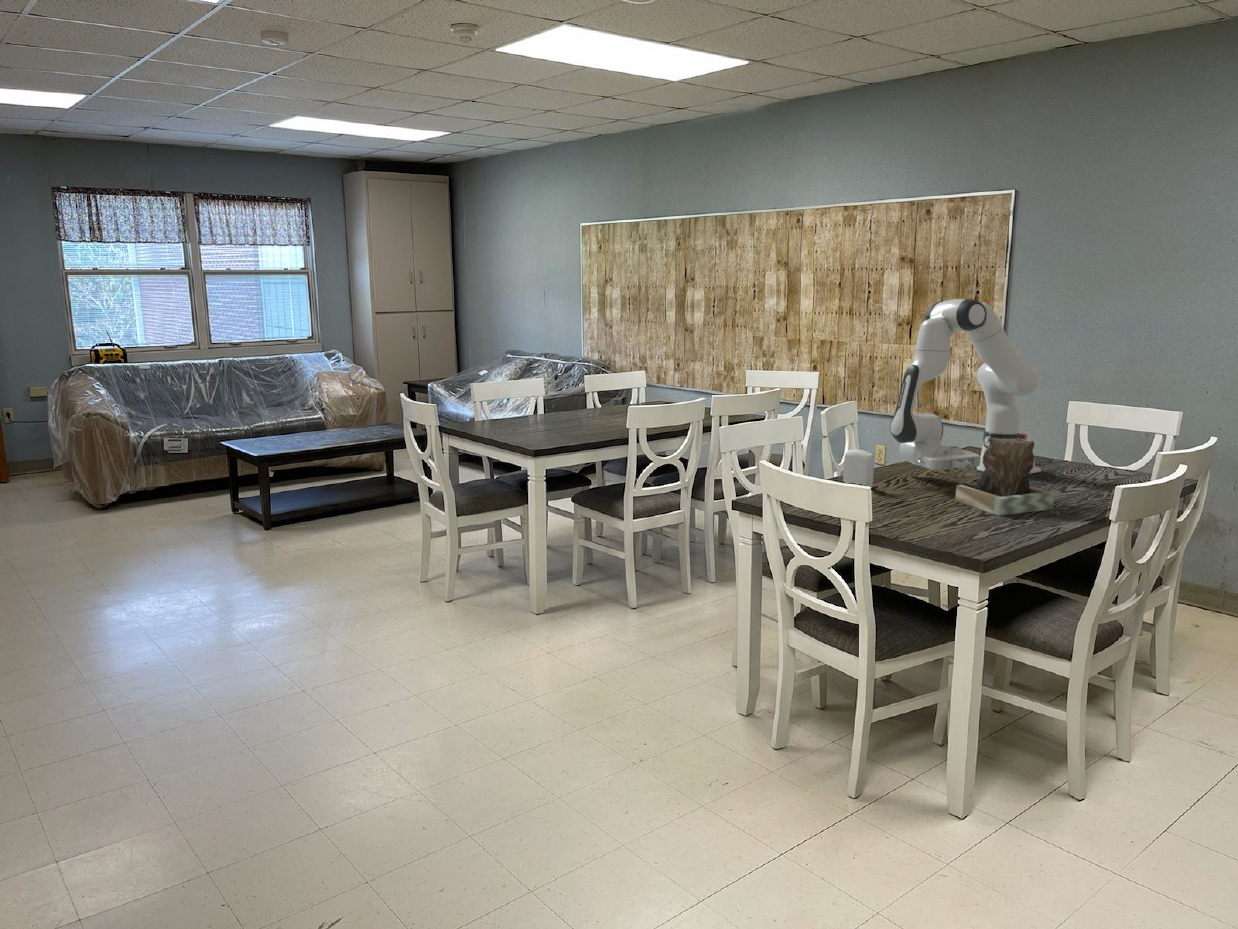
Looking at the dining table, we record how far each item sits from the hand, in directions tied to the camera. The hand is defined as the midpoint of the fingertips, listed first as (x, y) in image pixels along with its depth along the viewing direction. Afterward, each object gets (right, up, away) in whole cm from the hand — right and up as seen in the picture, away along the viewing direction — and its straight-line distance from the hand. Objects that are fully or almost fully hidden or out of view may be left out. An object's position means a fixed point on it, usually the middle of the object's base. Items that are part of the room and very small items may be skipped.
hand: (968, 465), depth 287 cm
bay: (+5, -12, -12) cm, 17 cm away
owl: (+6, -12, -11) cm, 18 cm away
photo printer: (-33, -7, +9) cm, 35 cm away
